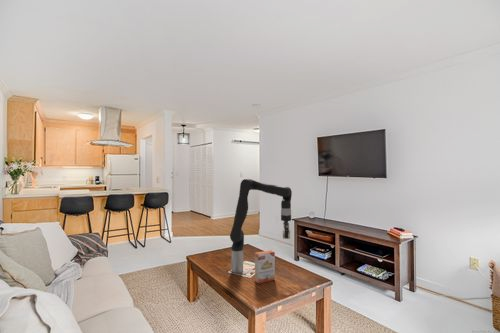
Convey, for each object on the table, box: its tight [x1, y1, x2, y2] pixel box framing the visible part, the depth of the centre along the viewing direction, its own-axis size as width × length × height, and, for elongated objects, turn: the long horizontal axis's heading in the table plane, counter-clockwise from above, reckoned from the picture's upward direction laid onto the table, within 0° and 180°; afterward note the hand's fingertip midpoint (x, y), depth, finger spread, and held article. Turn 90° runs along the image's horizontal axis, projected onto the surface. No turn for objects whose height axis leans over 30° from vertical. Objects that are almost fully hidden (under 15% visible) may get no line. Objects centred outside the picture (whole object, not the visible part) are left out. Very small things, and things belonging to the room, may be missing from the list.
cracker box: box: [254, 249, 276, 284], centre depth 192 cm, size 14×6×21 cm, turn 117°
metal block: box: [282, 228, 291, 240], centre depth 194 cm, size 5×5×6 cm
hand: (286, 236), depth 194 cm, fingers closed on metal block, 5 cm apart
